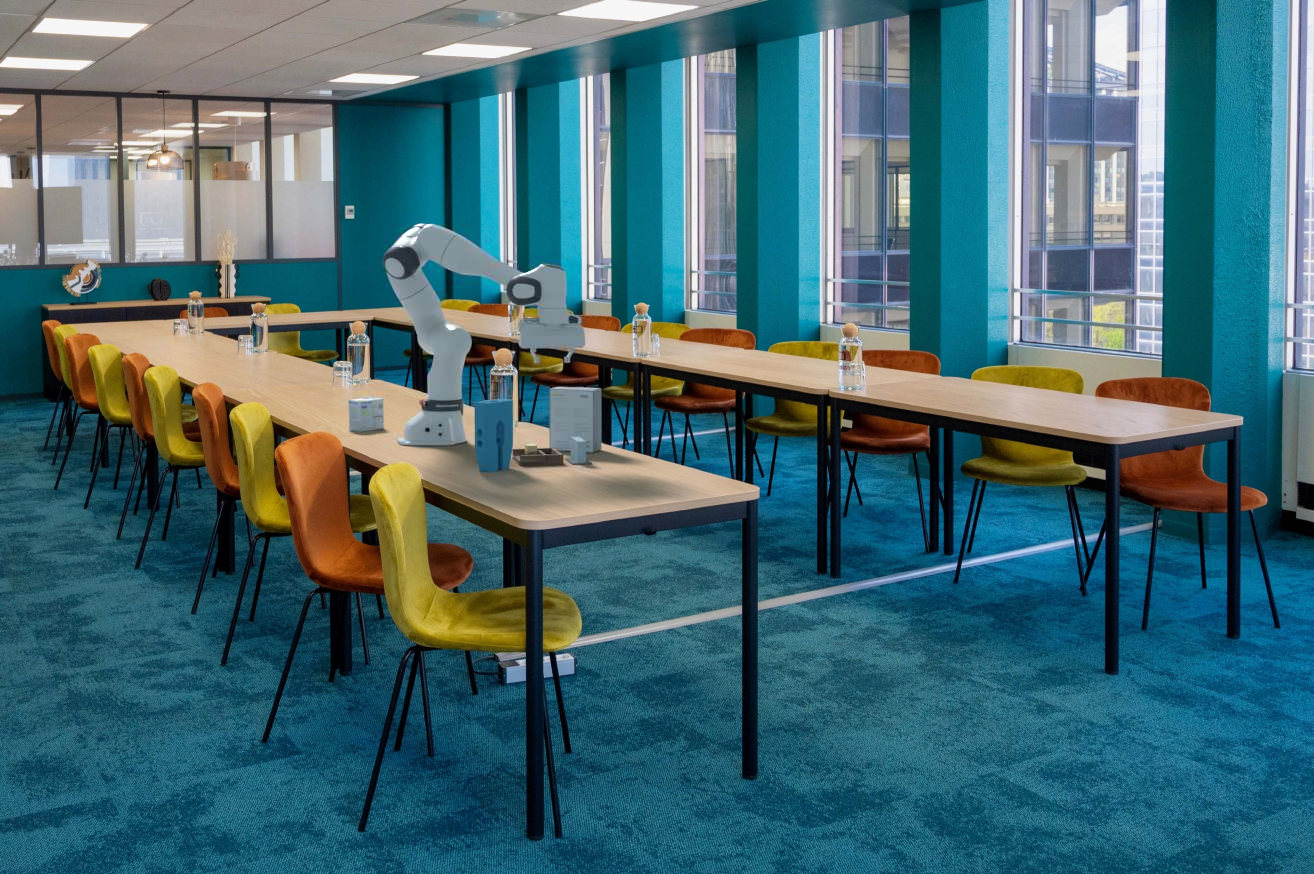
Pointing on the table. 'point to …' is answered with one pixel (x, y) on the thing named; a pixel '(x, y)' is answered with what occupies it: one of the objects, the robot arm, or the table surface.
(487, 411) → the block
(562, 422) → the hard drive box
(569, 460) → the mat
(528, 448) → the offcut upper
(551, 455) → the rack
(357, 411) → the light bulb box
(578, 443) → the light blue rectangular block
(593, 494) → the table surface
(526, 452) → the offcut lower
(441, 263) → the robot arm
